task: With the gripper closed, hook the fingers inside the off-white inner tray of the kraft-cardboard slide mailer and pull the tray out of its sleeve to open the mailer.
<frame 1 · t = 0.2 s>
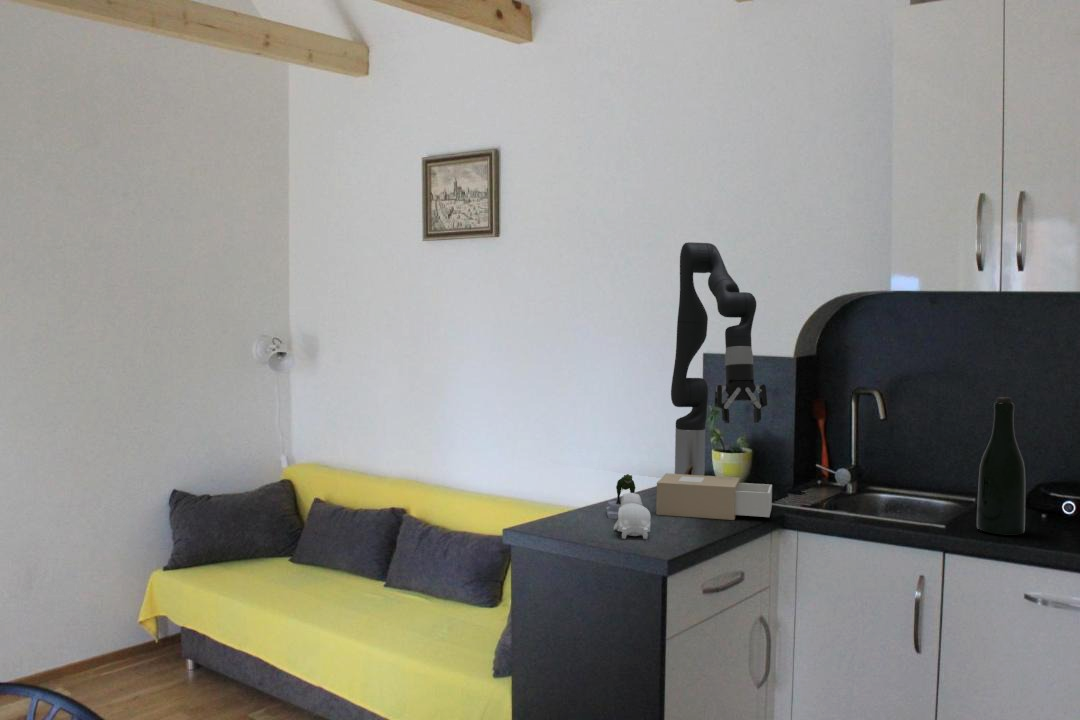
hand: (741, 422, 250), 23 cm above the worktop, tool pointing down, fingers open, 8 cm apart
beer bottle: (1000, 533, 223), on the worktop
white animal figurine: (632, 534, 217), on the worktop
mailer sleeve: (698, 511, 244), on the worktop
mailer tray: (733, 498, 241), point 4 cm above the worktop, slide at 9.0 cm
dinosaur figurine: (624, 515, 239), on the worktop
sword hilt: (724, 500, 263), on the worktop
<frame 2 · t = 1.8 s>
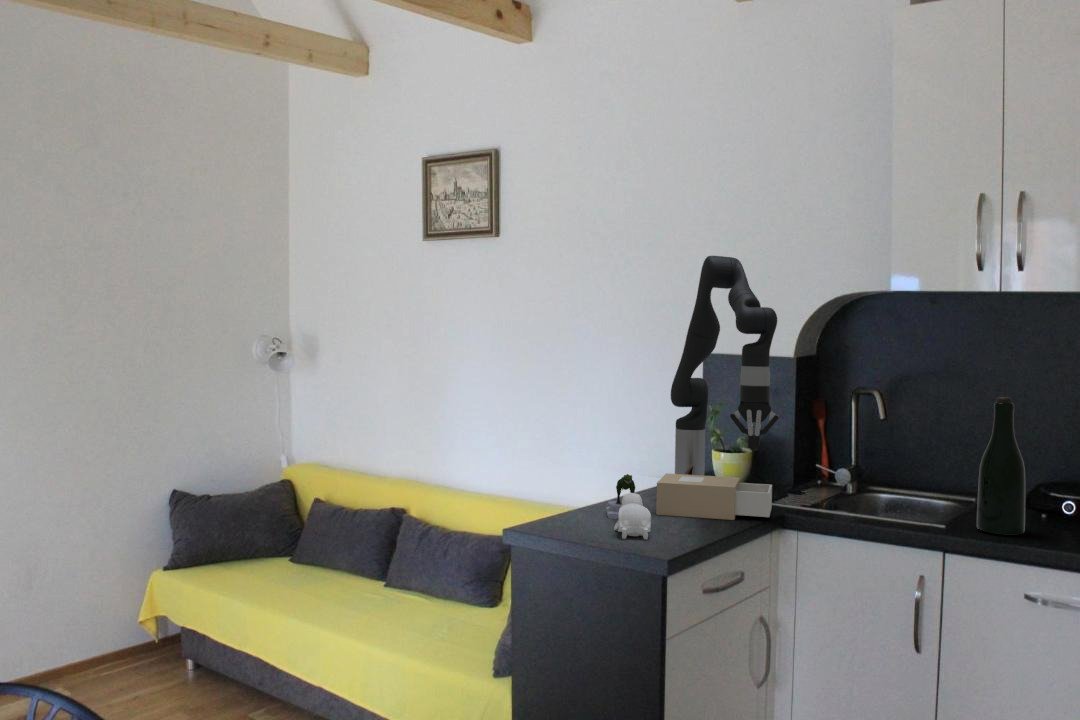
hand: (753, 449, 239), 17 cm above the worktop, tool pointing down, fingers closed
nothing on the worktop moved.
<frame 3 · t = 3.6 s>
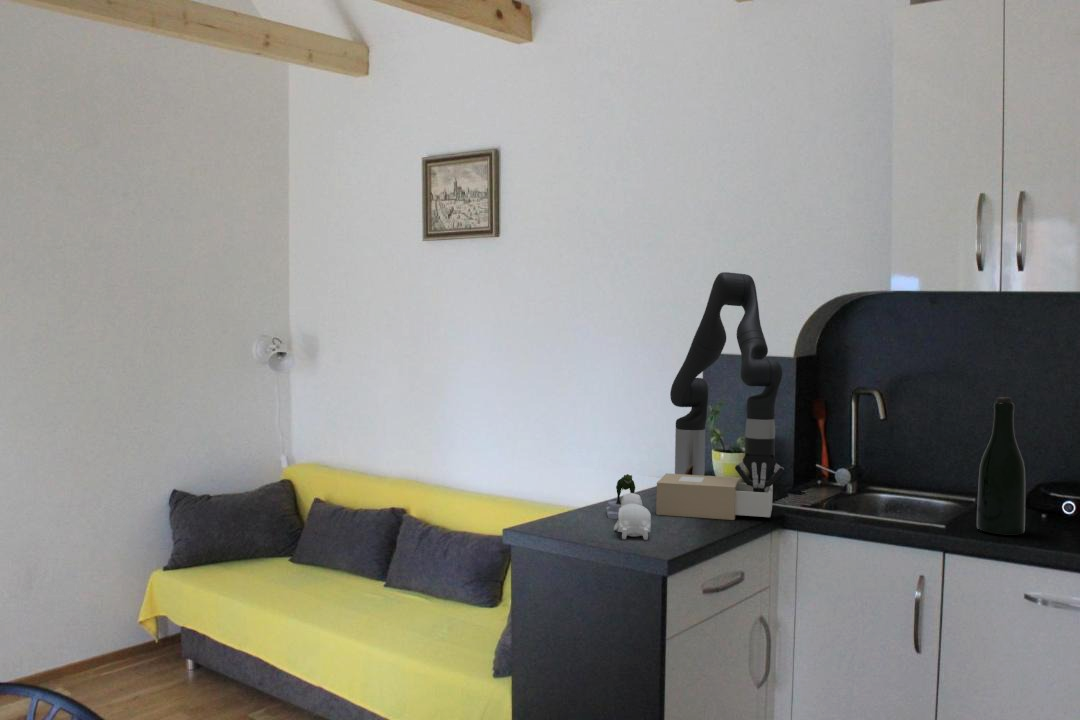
hand: (758, 501, 239), 4 cm above the worktop, tool pointing down, fingers closed
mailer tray: (733, 498, 241), point 4 cm above the worktop, slide at 9.2 cm, touching gripper
everything else where it was.
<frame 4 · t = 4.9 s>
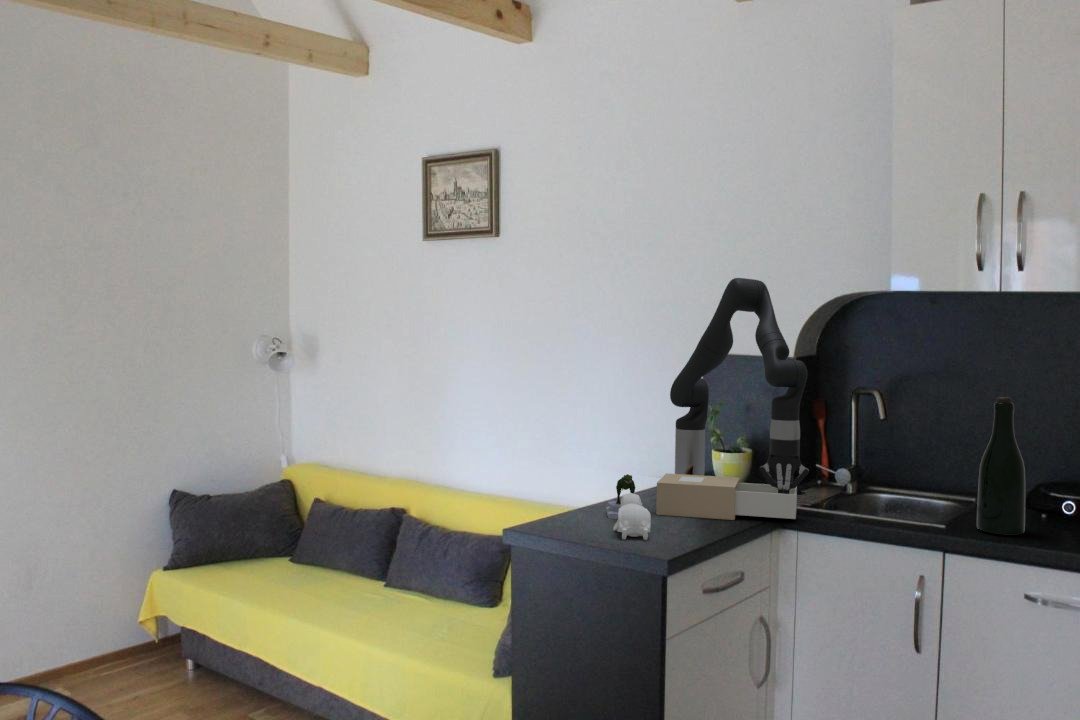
hand: (783, 503, 237), 4 cm above the worktop, tool pointing down, fingers closed
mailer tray: (758, 499, 239), point 4 cm above the worktop, slide at 15.4 cm, touching gripper
everything else where it was.
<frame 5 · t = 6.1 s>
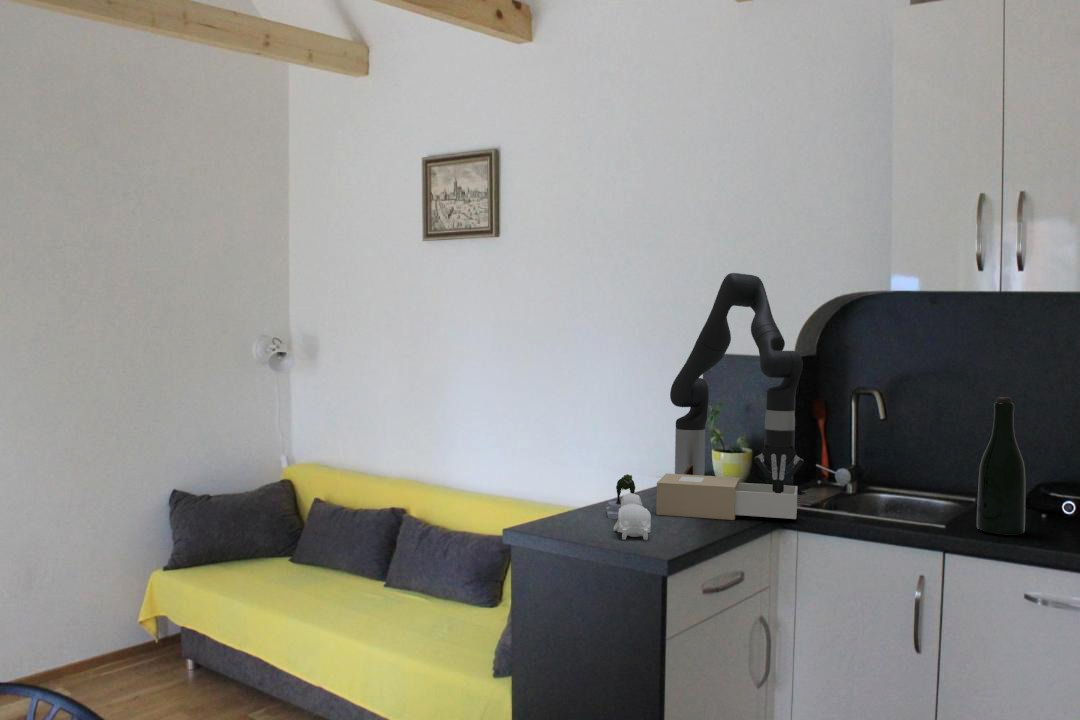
hand: (777, 493, 238), 6 cm above the worktop, tool pointing down, fingers closed
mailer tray: (758, 499, 239), point 4 cm above the worktop, slide at 15.5 cm
everything else where it was.
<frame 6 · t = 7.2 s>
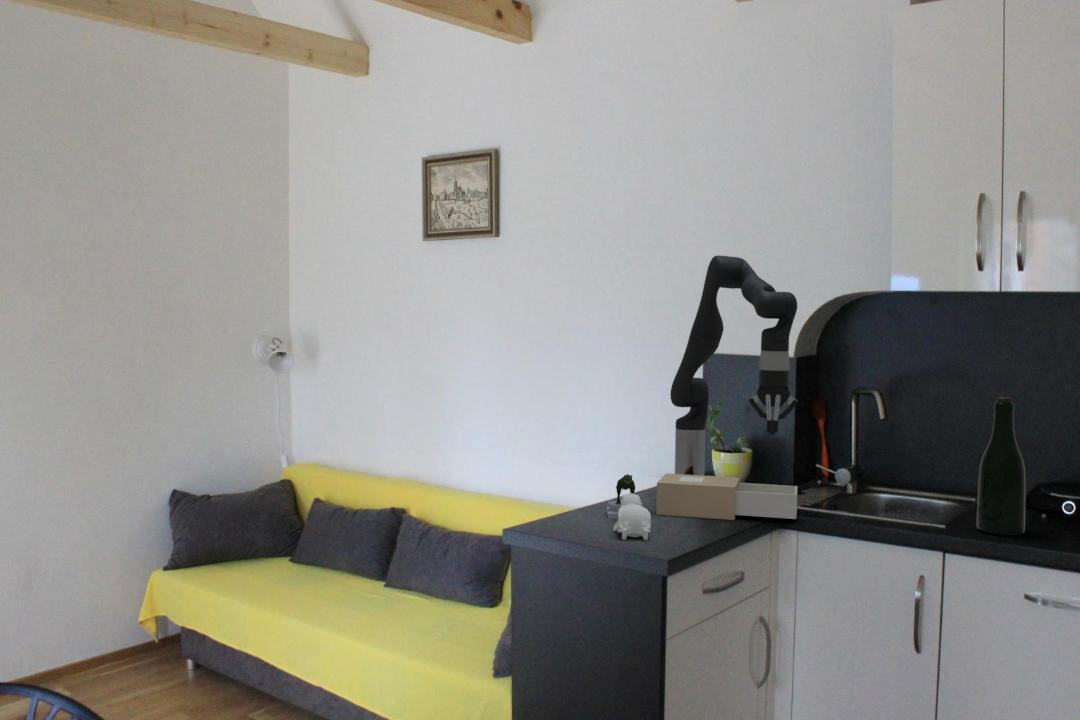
hand: (772, 434, 239), 21 cm above the worktop, tool pointing down, fingers closed
nothing on the worktop moved.
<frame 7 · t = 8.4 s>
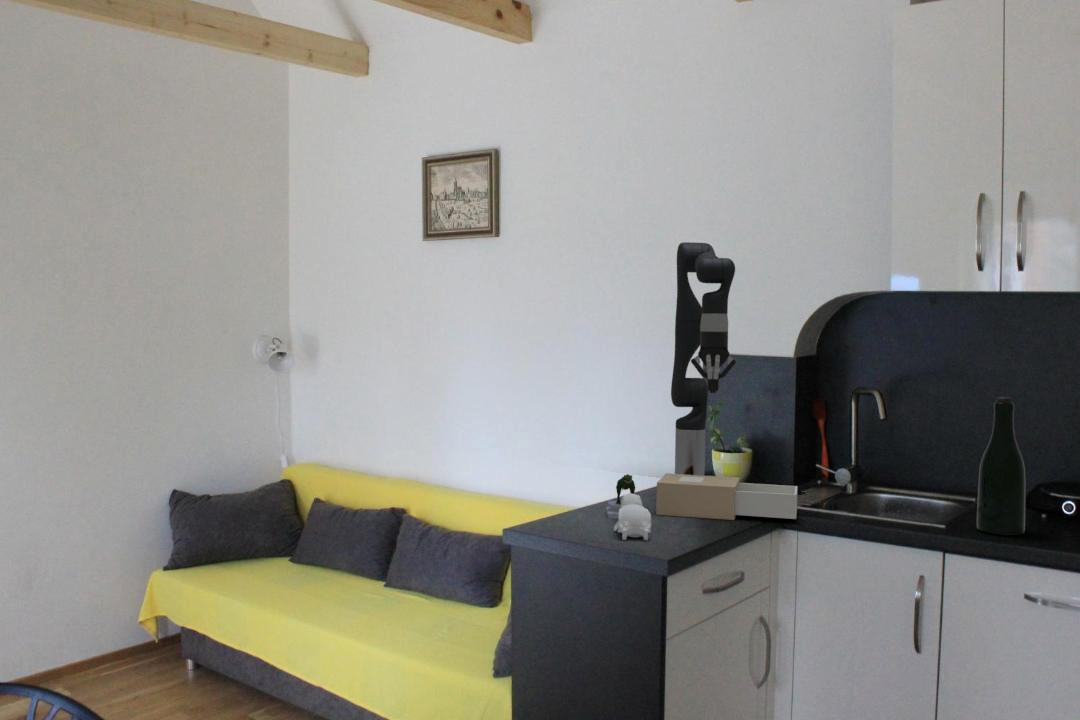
hand: (713, 392, 254), 31 cm above the worktop, tool pointing down, fingers closed
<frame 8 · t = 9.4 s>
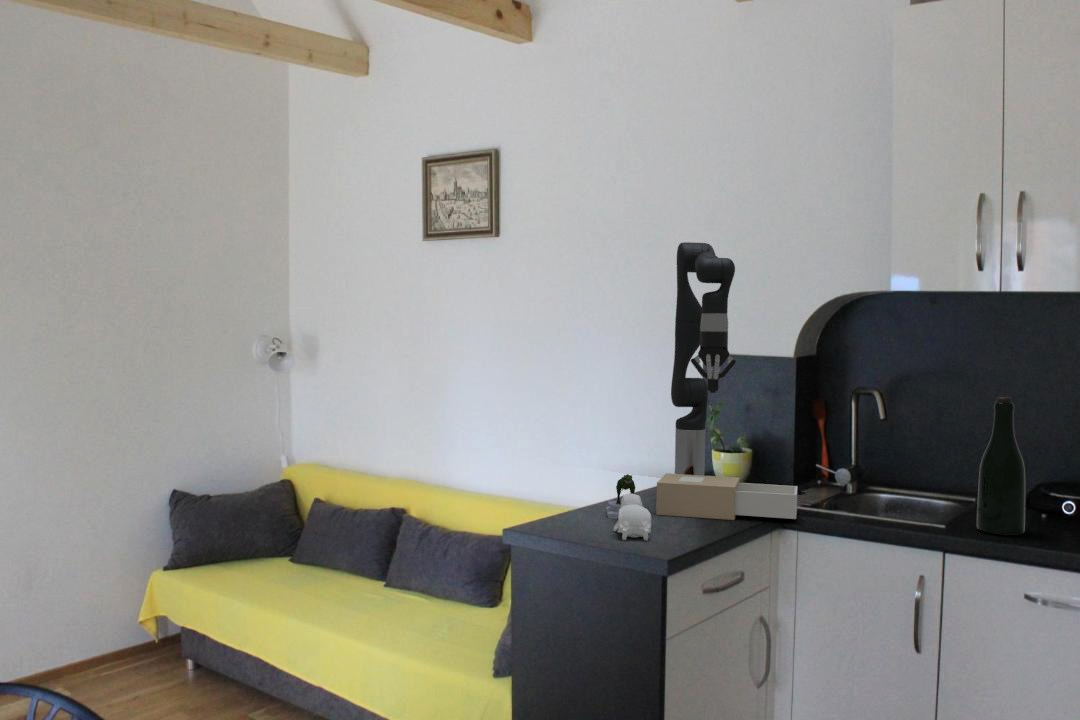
hand: (712, 392, 254), 31 cm above the worktop, tool pointing down, fingers closed
at the end: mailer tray slide at 15.5 cm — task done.
